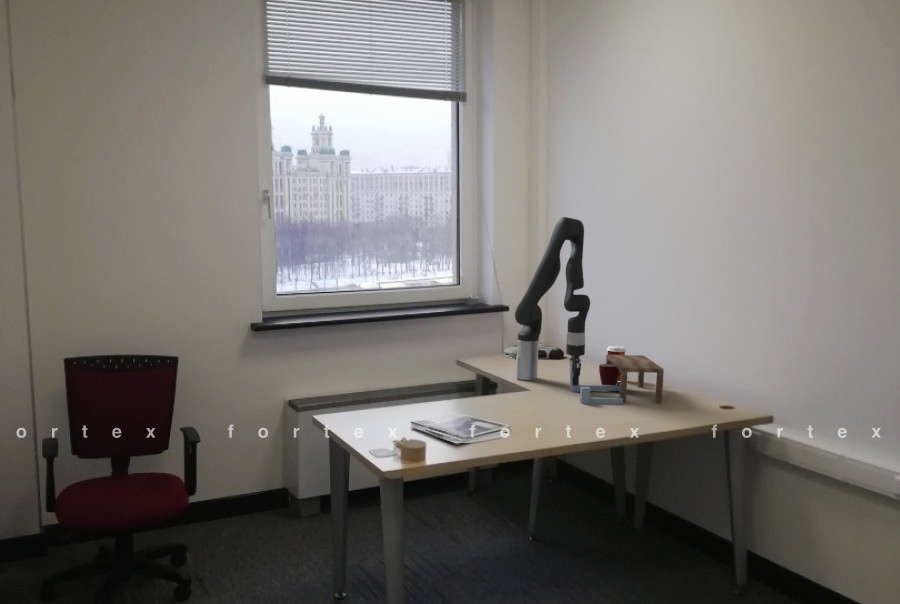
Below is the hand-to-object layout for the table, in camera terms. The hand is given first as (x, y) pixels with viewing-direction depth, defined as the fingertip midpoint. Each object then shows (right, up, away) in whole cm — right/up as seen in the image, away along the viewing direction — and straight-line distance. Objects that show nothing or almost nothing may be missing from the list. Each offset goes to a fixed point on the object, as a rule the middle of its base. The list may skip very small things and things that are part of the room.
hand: (574, 384), depth 322 cm
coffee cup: (+22, -1, +24) cm, 32 cm away
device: (-6, +6, +83) cm, 84 cm away
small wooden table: (+23, -4, -3) cm, 23 cm away
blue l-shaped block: (+7, -5, -20) cm, 22 cm away
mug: (+16, -3, +4) cm, 16 cm away
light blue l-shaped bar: (+9, -3, 0) cm, 10 cm away
